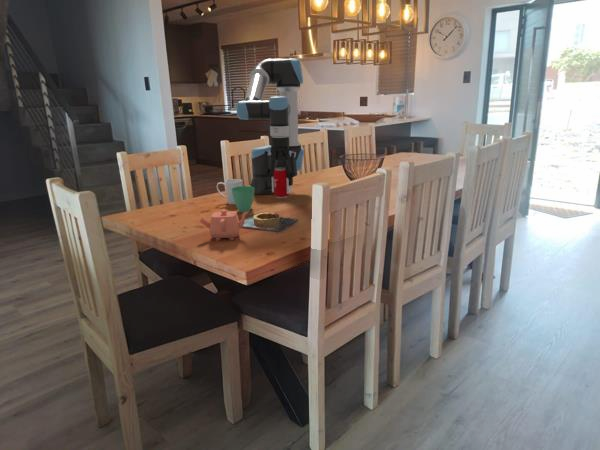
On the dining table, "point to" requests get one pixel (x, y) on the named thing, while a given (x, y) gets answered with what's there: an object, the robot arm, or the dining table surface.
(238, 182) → the mug
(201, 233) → the dining table surface
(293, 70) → the robot arm
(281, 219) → the grey can holder
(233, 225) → the teapot
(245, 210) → the mug
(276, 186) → the beverage can
